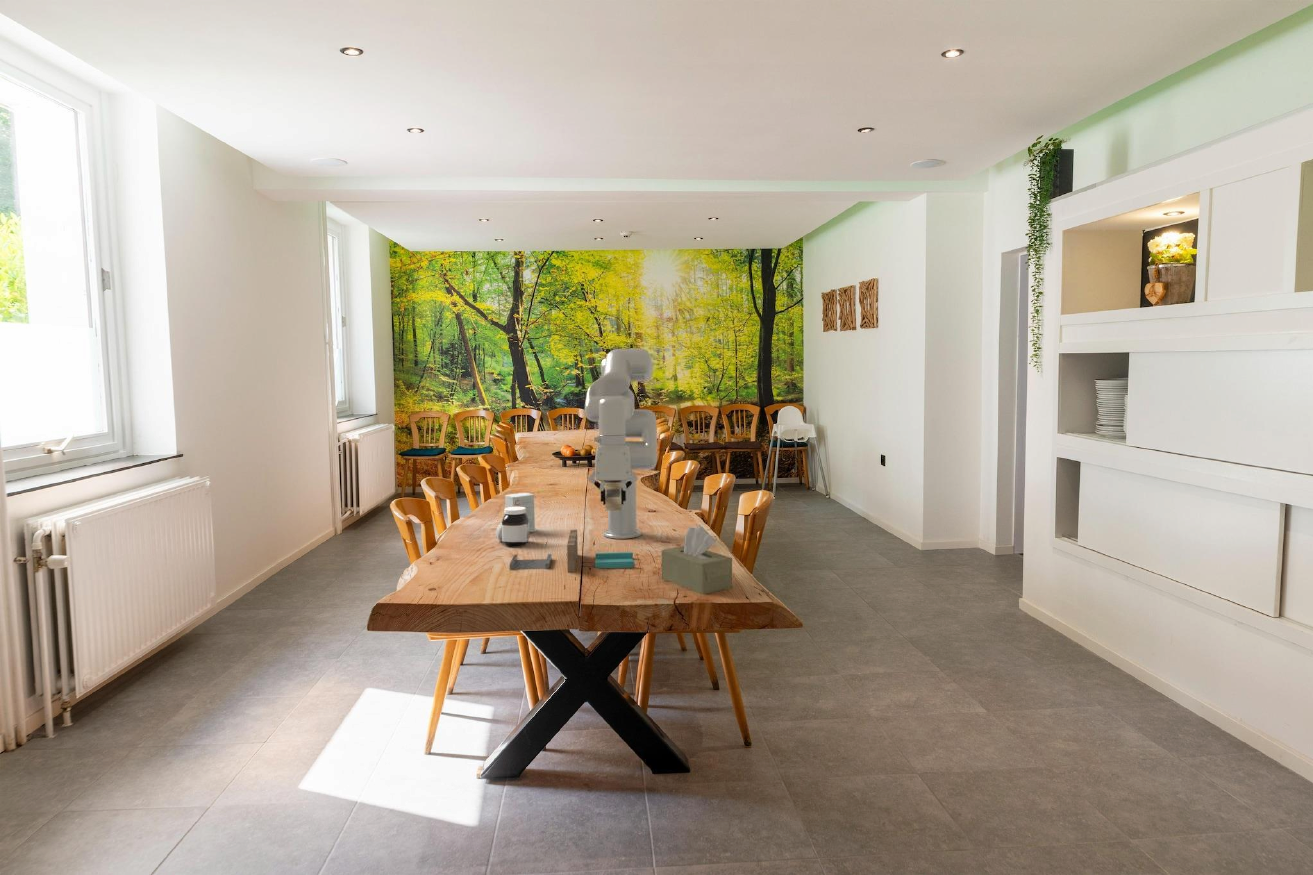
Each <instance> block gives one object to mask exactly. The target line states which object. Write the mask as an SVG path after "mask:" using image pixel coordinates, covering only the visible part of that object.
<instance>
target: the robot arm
mask: <svg viewBox="0 0 1313 875" xmlns="http://www.w3.org/2000/svg"><path fill="white" fill-rule="evenodd" d="M653 371H654V366H653V359H652V357H651V353H649V351H648V350H647V349H644V348H615V349H612V350H611V351H609V352H608V353H607V354H606V356H605V358H603V359H602V361H601V362H600V373H601V377H599V378H598V379H597V380H595V381H594V382H593V383H591V385H589V387H588V389H587V391H586V394H585V395H586V396H585V401H584V413H585V417H586V419H588V420H589V421H591V422H598V434H599V435H598V436H596V437H593V438H594V439H593V440H594V441H593V442H594V443H598V445H597V446H596V449H595V458H594V470H593V471H592V472H591V474H590V475H589V477H588V478H587V480H588V482H590V483H591V484H592V485H594V486H595V487H596V488H597V489H598V490H599V491H600V503H601V502H603V503H602V505H603V506H606V505H605V482H606V481H621V510H614V511H607V524H608V525H607V526H608V527H607V528H608V529H606V530H604V531H603V536H604V537H606V538H609V539H616V540H617V539H618V540H619V539H620V540H621V539H622V540H623V539H634V538H638V537H640V536H641V535H642V530H640V529H639V528H637V527H638V526H637V525H638V524H637V518H638V517H637V482H636V481H638V480H639V478H638V476H637V474H636V473H635V472H634V471H638V470H639V471H648V470H653V469H655V468H656V466H657V463H658V426H657V425H658V424H657V417H656V414H655V413H654V412H653V411H652V410H650V409H635V408H636V407H635V394H634V392H633V391H632V390H631V389H630V385H631V382H649V381H650V380H651V379H652V377H653V373H654V372H653ZM626 439H642V440H643V441H642V440H641V441H640V440H637V441H634V440H633V441H632V440H631V441H630V440H626ZM599 481H600V482H599Z"/></svg>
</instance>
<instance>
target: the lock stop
mask: <svg viewBox="0 0 1313 875" xmlns="http://www.w3.org/2000/svg"><path fill="white" fill-rule="evenodd" d="M604 488H605V505H604V506H605V512H606V511H607V512H608V511H614V510H621V481H606V482H605V486H604Z"/></svg>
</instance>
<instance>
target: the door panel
mask: <svg viewBox="0 0 1313 875" xmlns="http://www.w3.org/2000/svg"><path fill="white" fill-rule="evenodd" d="M568 534H569V536H568V540H567V544H566V552H567V553H566V554H567V555H566V556H567V573H576V568H577V563H578V562H577V561H578V557H579V556H578V548H579V547H578V545H579V544H578V529H570V531H569V533H568Z"/></svg>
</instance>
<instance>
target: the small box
mask: <svg viewBox="0 0 1313 875" xmlns="http://www.w3.org/2000/svg"><path fill="white" fill-rule="evenodd" d="M504 502H505V505H504V506H505V508H508V507H525V508H526V514H527V516H528V518H529V533H532V532H533V533H534V532H535V531H536V522H535V518H536V517H535V495H534V494H533V493H529V492H518V493H511V494H505V495H504ZM505 508H504V509H505Z"/></svg>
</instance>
